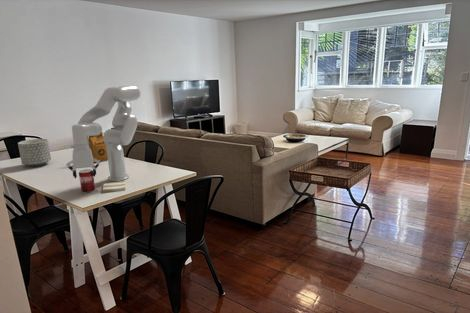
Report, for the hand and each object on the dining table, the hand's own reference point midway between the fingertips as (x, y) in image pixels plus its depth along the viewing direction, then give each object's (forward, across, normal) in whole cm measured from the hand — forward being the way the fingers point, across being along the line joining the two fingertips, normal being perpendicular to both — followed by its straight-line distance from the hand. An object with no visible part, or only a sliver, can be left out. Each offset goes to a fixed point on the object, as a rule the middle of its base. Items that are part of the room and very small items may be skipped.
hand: (85, 176), depth 184 cm
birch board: (+8, +15, +1) cm, 17 cm away
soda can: (+9, +1, +1) cm, 9 cm away
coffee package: (+7, +3, +72) cm, 72 cm away
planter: (+8, -41, +78) cm, 88 cm away
